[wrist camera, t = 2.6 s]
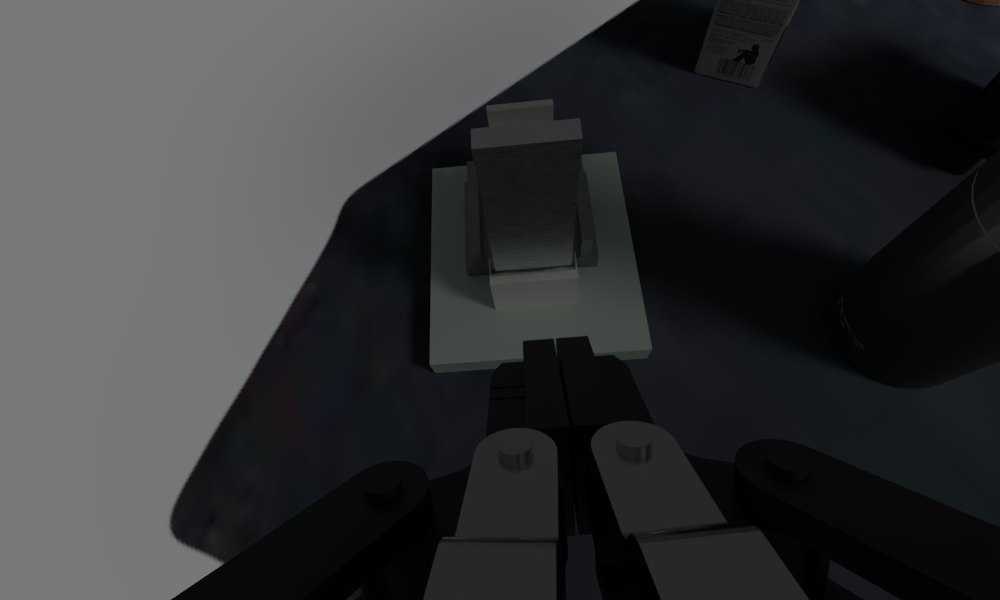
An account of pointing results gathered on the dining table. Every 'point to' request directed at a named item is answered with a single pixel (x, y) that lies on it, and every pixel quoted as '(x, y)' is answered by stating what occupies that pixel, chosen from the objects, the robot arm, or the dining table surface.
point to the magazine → (972, 132)
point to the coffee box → (743, 39)
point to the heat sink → (479, 239)
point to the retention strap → (529, 193)
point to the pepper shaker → (986, 2)
